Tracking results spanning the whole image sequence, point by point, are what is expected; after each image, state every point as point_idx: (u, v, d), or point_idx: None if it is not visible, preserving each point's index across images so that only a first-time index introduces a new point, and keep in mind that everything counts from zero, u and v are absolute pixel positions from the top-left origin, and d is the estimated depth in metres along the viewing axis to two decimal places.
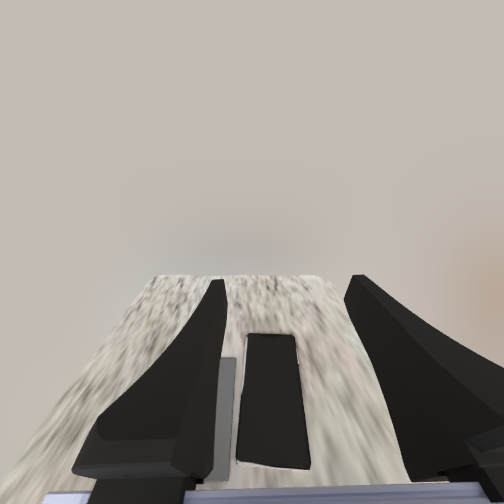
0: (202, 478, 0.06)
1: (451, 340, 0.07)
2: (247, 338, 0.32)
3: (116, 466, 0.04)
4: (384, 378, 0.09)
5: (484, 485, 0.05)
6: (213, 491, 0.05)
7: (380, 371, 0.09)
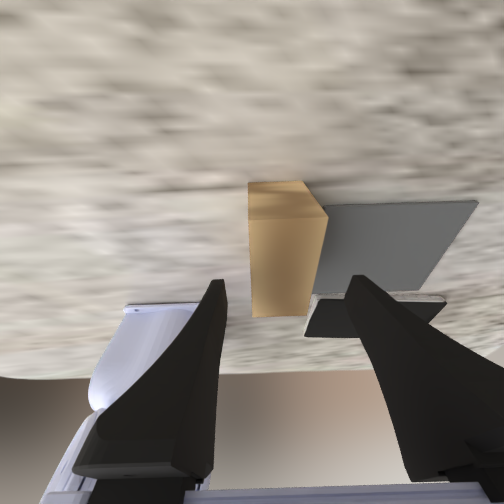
0: (202, 478, 0.06)
1: (451, 340, 0.07)
2: (440, 302, 0.22)
3: (116, 466, 0.04)
4: (384, 378, 0.09)
5: (484, 485, 0.05)
6: (213, 491, 0.05)
7: (380, 371, 0.09)
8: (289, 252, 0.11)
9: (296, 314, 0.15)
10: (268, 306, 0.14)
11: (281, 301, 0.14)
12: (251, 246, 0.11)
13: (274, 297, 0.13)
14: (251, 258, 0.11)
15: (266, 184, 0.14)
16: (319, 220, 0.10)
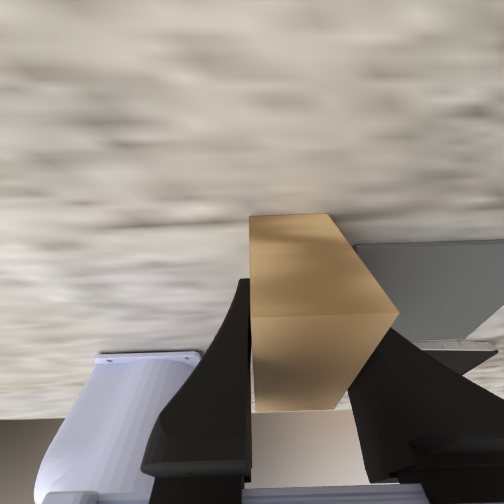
0: (250, 476, 0.06)
1: (407, 341, 0.07)
2: (490, 351, 0.18)
3: (191, 463, 0.04)
4: None
5: (425, 487, 0.05)
6: None
7: None
8: (319, 354, 0.07)
9: (318, 407, 0.10)
10: (279, 403, 0.09)
11: (298, 398, 0.09)
12: (255, 348, 0.06)
13: (289, 395, 0.09)
14: (255, 360, 0.07)
15: (276, 221, 0.10)
16: (381, 317, 0.05)
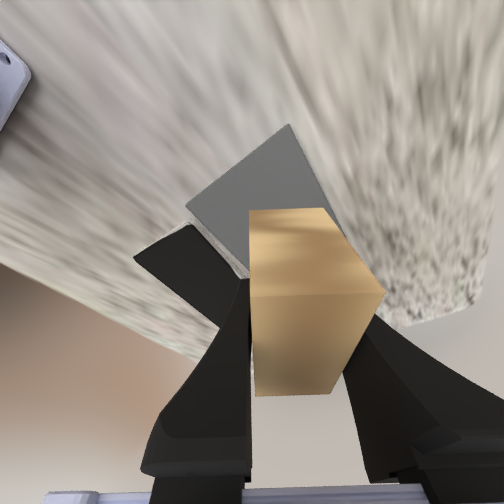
0: (250, 477, 0.06)
1: (407, 341, 0.07)
2: None
3: (191, 464, 0.04)
4: (349, 379, 0.09)
5: (425, 487, 0.05)
6: None
7: (346, 372, 0.09)
8: (314, 335, 0.07)
9: (315, 392, 0.11)
10: (277, 387, 0.10)
11: (295, 382, 0.10)
12: (254, 328, 0.07)
13: (286, 378, 0.09)
14: (254, 341, 0.07)
15: (274, 214, 0.10)
16: (369, 296, 0.06)
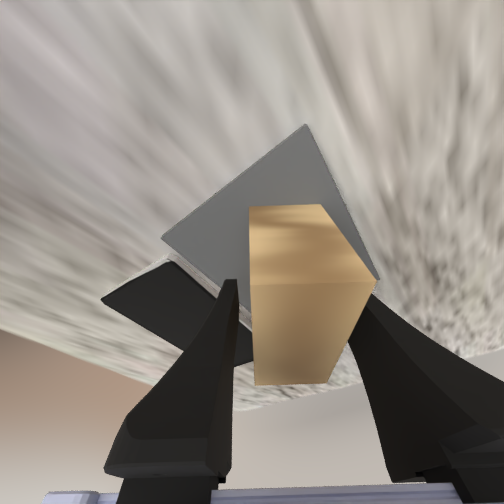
0: (224, 477, 0.06)
1: (431, 341, 0.07)
2: None
3: (150, 465, 0.04)
4: (368, 378, 0.09)
5: (456, 486, 0.05)
6: (213, 491, 0.05)
7: (364, 371, 0.09)
8: (310, 323, 0.08)
9: (312, 381, 0.11)
10: (276, 376, 0.10)
11: (293, 371, 0.10)
12: (254, 316, 0.07)
13: (284, 367, 0.10)
14: (254, 329, 0.08)
15: (273, 210, 0.11)
16: (361, 285, 0.06)
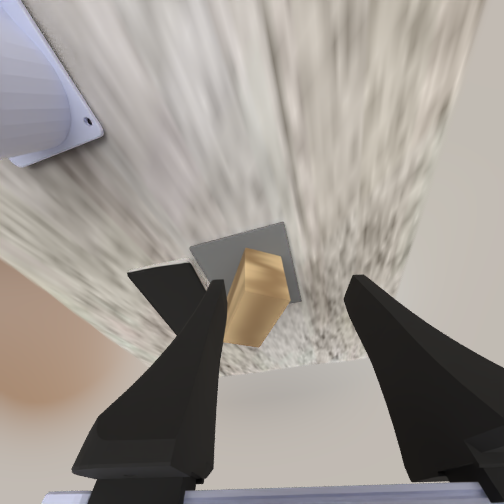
0: (202, 478, 0.06)
1: (451, 340, 0.07)
2: None
3: (116, 466, 0.04)
4: (384, 378, 0.09)
5: (484, 485, 0.05)
6: (213, 491, 0.05)
7: (380, 371, 0.09)
8: (262, 312, 0.17)
9: (252, 345, 0.21)
10: (236, 337, 0.20)
11: (245, 336, 0.20)
12: (240, 303, 0.17)
13: (242, 333, 0.19)
14: (237, 309, 0.17)
15: (257, 254, 0.20)
16: (285, 300, 0.17)
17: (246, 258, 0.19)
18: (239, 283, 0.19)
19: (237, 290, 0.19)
